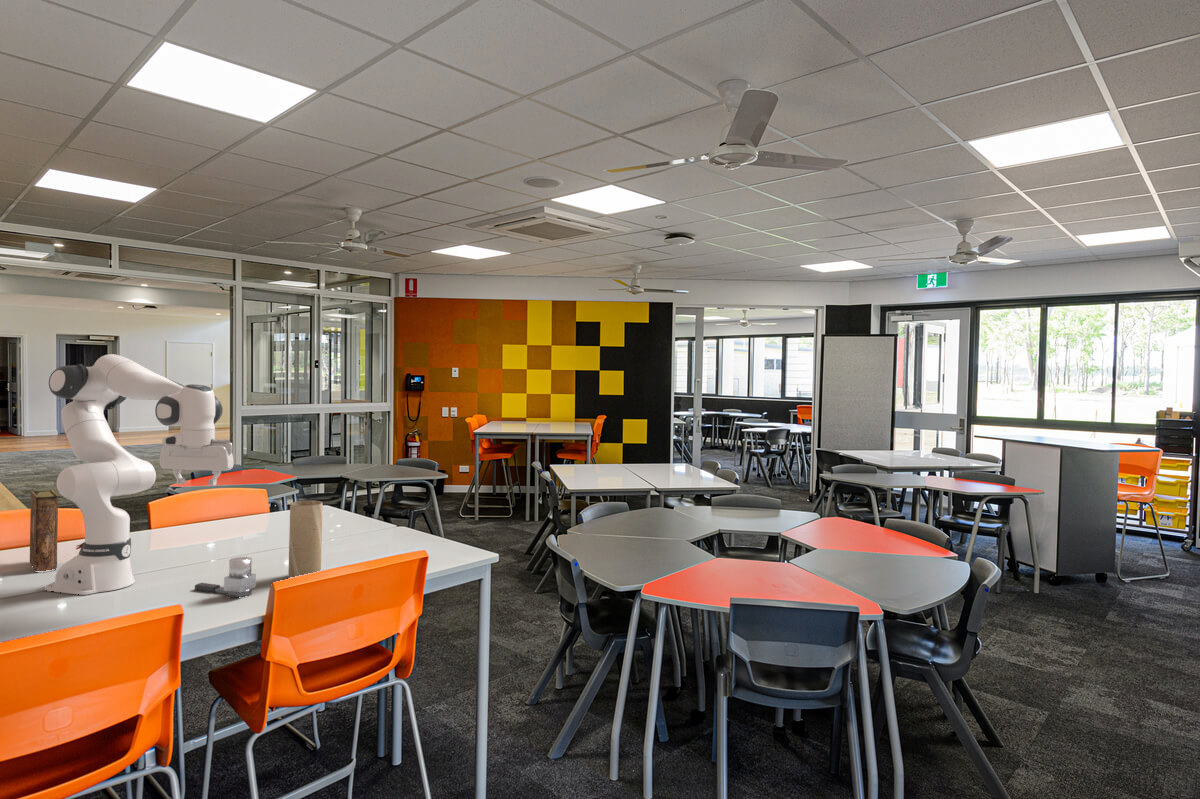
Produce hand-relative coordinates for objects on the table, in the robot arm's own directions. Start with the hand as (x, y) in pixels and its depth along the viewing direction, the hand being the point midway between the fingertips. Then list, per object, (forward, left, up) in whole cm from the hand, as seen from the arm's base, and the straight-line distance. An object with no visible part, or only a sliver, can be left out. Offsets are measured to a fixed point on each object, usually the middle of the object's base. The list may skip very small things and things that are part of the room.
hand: (196, 484), depth 191 cm
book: (-66, +25, -34) cm, 79 cm away
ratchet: (+6, +5, -34) cm, 35 cm away
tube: (+23, +23, -34) cm, 47 cm away
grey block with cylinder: (+12, +3, -32) cm, 34 cm away
